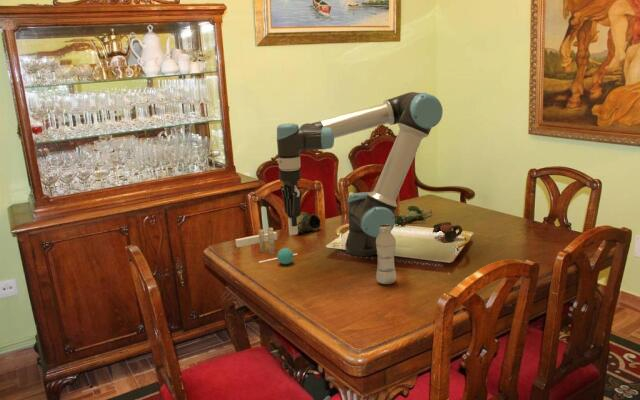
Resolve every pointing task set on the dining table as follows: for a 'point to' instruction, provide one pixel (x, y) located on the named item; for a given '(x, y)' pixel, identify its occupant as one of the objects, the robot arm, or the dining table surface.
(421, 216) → the figure
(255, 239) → the back rail
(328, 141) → the robot arm
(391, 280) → the plastic bottle
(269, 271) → the dining table surface
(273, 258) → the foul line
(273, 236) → the pin
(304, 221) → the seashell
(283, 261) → the ball
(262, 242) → the pin
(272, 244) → the pin front
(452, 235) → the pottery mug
